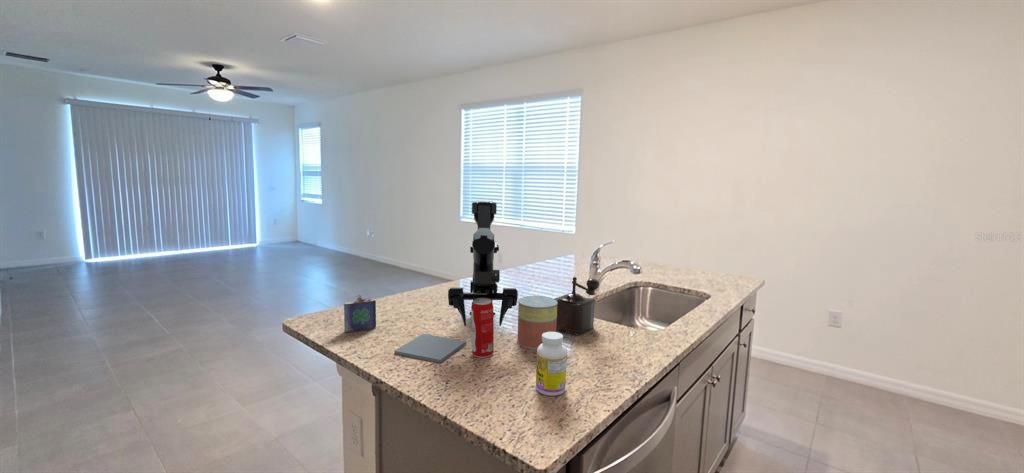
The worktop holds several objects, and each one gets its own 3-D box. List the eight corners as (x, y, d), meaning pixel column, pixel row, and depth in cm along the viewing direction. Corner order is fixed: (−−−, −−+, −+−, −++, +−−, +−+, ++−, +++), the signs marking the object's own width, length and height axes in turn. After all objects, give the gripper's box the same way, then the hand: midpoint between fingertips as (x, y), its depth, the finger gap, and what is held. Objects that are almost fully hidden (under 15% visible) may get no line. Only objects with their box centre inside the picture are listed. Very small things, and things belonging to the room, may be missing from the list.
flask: (345, 333, 131) (344, 298, 130) (343, 330, 134) (342, 295, 132) (377, 329, 136) (376, 294, 135) (374, 326, 138) (374, 292, 137)
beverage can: (494, 350, 122) (496, 297, 120) (491, 360, 115) (492, 304, 113) (473, 349, 122) (474, 295, 120) (468, 358, 116) (469, 302, 114)
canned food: (564, 341, 129) (565, 301, 128) (539, 352, 121) (540, 309, 119) (534, 331, 137) (535, 293, 135) (509, 341, 129) (510, 300, 127)
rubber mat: (423, 336, 131) (423, 333, 131) (466, 343, 126) (466, 341, 126) (394, 353, 118) (394, 350, 118) (440, 362, 113) (440, 359, 113)
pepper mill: (547, 329, 140) (550, 272, 137) (566, 320, 148) (568, 267, 146) (592, 341, 130) (595, 281, 128) (609, 331, 139) (612, 274, 136)
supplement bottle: (533, 383, 103) (535, 329, 102) (562, 382, 104) (564, 329, 102) (537, 397, 97) (539, 340, 95) (568, 396, 97) (570, 340, 96)
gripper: (448, 258, 119) (445, 310, 110) (518, 259, 121) (520, 311, 111) (450, 280, 128) (447, 330, 119) (515, 280, 130) (517, 330, 120)
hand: (482, 325), depth 117 cm, fingers open, 9 cm apart
